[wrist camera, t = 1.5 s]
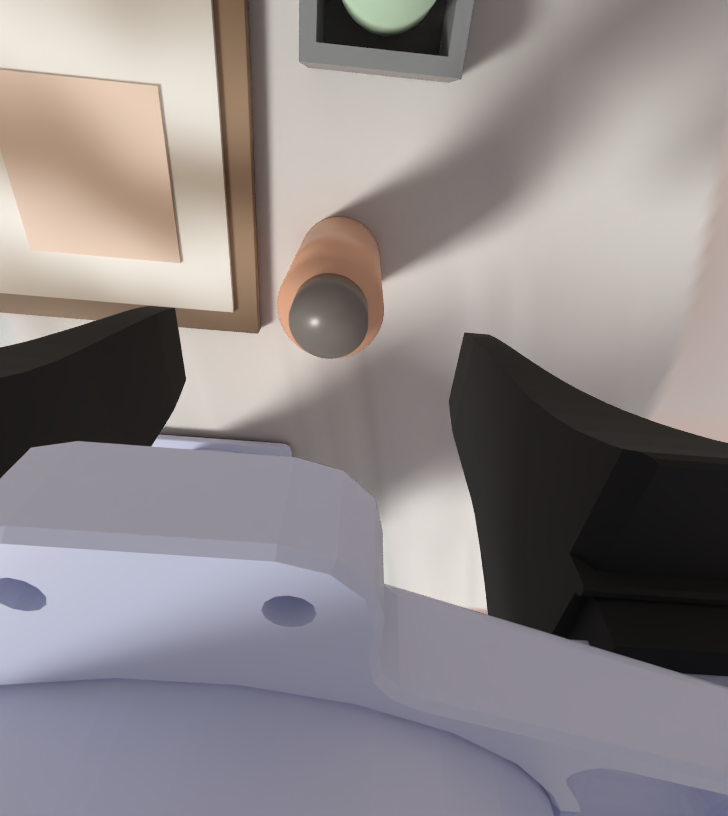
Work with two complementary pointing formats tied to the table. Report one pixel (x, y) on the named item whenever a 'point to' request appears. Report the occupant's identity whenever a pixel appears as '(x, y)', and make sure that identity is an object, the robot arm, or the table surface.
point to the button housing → (387, 61)
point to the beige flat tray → (128, 160)
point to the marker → (333, 290)
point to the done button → (388, 14)
